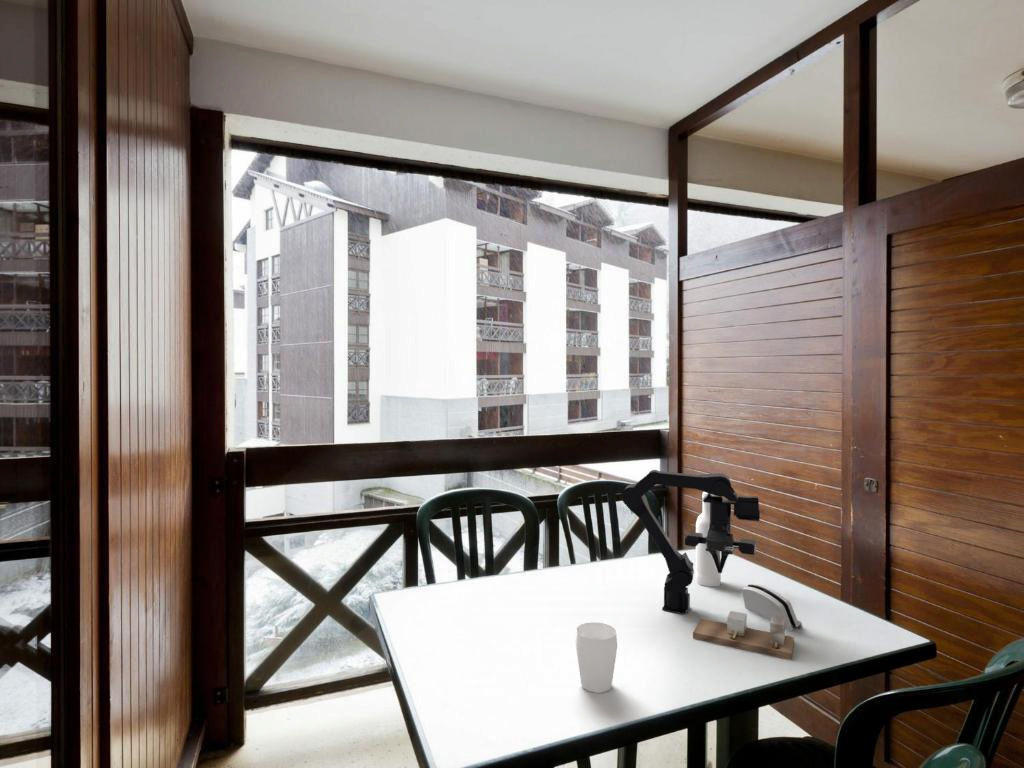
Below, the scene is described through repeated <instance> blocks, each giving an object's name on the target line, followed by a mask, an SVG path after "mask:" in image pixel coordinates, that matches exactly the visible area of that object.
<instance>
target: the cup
mask: <svg viewBox="0 0 1024 768" xmlns="http://www.w3.org/2000/svg"><path fill="white" fill-rule="evenodd" d="M575 648H576V655H577V664H578V669H579V670H578V672H579V678H580V684H581V687H582V688H583V689H584V690H585V691H587V692H590V693H595V694H602V693H605V692H608V691H610V690H611V689H612V685H613V679H614V671H615V664H616V658H617V653H618V651H617V650H618V638H617V630H616V628H614V627H613V626H612V625H609V624H606V623H603V622H593V621H592V622H591V621H590V622H585V623H582V624H579V625H578V626H577V628H576V637H575Z"/></svg>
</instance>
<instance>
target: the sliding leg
mask: <svg viewBox="0 0 1024 768" xmlns="http://www.w3.org/2000/svg"><path fill="white" fill-rule="evenodd" d="M747 616H748V615H747V613H744V612H739V611H733V610H730V611H729V613H728V615H727V620H726V621H727V622H726V623H727V633H729V634H734V635H733V638H735V637H736V635H739V636H744V635H745V632H746V629H747V628H748V627H747V625H748V624H747V620H748V619H747Z"/></svg>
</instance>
